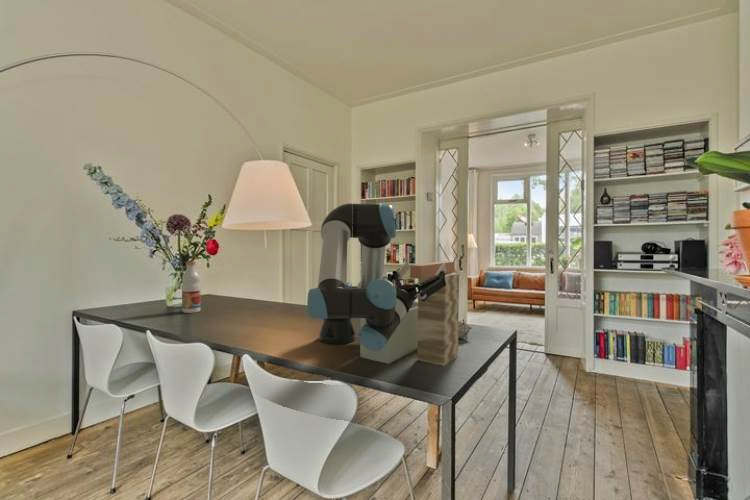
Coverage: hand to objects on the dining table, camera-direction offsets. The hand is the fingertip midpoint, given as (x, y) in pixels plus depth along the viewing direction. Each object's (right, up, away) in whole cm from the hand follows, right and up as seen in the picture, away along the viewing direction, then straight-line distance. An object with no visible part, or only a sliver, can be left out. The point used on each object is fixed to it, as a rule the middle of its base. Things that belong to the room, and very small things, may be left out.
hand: (425, 265), depth 119 cm
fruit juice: (-121, -30, +87) cm, 152 cm away
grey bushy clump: (+19, -33, +35) cm, 51 cm away
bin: (-8, -33, +19) cm, 39 cm away
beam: (+4, -3, +5) cm, 7 cm away
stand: (+6, -33, +10) cm, 35 cm away
